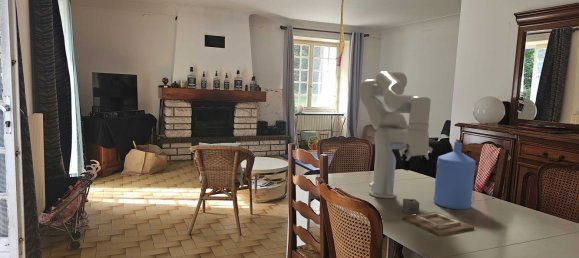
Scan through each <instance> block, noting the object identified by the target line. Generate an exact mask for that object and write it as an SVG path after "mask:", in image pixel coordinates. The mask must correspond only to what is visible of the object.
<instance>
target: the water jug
mask: <svg viewBox="0 0 579 258" xmlns="http://www.w3.org/2000/svg"><path fill="white" fill-rule="evenodd" d="M453 143H454V145H453V151H451V152H447V153H445V154H442V155H439V156H438V157H437V162H436V175H435V182H434V183H435V185H434V193H433V202H434V203H435V204H436V205H438V206H440V207H442V208H447V209H451V210H452V209H453V210H459V211H460V210H461V211H462V210H468V209H470V208H471V207H472V205H473V204H472V203H473V201H472V196H473V189H474V180H475V179H474V178H475V171H476V160H475V159H474V158H472V157H471V156H468V155H467V154H465V153H463V152H462V148H463V147H462V145H463V143H462V142H459V141H457V142H455V141H454V142H453Z"/></svg>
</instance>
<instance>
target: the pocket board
mask: <svg viewBox="0 0 579 258" xmlns="http://www.w3.org/2000/svg"><path fill="white" fill-rule="evenodd" d="M402 220H404V221H406V222H408V223H411V224H412V225H414V224H415V225H414V226H417V227H419V228H421V227H422V228H421V229H423V228H424V230H425V229H426V230H425V231H427V230H428V232H429V231H430V233H432V234H433V235H436V236H438V237H442V236H443V237H444V236H447V235H453V234H458V233H463V232H468V231H473V230H475V226H473V225H471V224H469V223H465V222H463V221H461V220H457V219H455V218H453V217H451V216H448V215H445V214H443V213H440V212H438V211H431V212H425V213H424V212H423V213H419V214H416V215H411V214H408V215H404V216H402Z"/></svg>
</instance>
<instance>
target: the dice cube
mask: <svg viewBox="0 0 579 258" xmlns="http://www.w3.org/2000/svg"><path fill="white" fill-rule="evenodd" d="M420 203H421V202H419V201H418V200H416V199H415V198H403V199H402V209H401V210H402V212H405V213H406V214H405V213H404V214H405V215H411V214H420V213H419V212H420Z"/></svg>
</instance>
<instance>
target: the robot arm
mask: <svg viewBox="0 0 579 258" xmlns="http://www.w3.org/2000/svg"><path fill="white" fill-rule="evenodd" d="M407 84H408V78H407V76H406V74H405V73H404V72H401V71H392V70H391V71H390V70H382V71H380V72H379V73H377V75H376V76H375V79H374V78H373V79H370V78H369V79H365V80H363V81H362V82H361V83H360V85H359V89H358V91H359V92H358V93H359V97H360V100H361V102H362V105H363V106H364V107H365V109H366V111H367V114H368V117H369V120H370V122H371V125H372V127H373V129H374V130H375V134H374V145H375V146H374V148H375V150H374V151H375V152H374V153H375V154H374V169H373V178H372V179H373V181H372V182H371V183H369V184H368V186H369V187H371V189H370V190H369V191H368V193H369V195H370V196H372V197H374V198H375V197H376V198H380V199H394V198H396V197H397V193H396V192H395V191H394V186H395V176H396V175H395V174H396V163H397V159H396V156H395V154H394V152H393V150H398V153H399V156H400V158H401V160H402V164H401V165H402V166H401V170H404V171H407V172H408V171H410V163H411V162H410V158H412V157H420V158H419V159H420V162H419V168H420V169H422V170H427V168H428V160H430V156H431V155H432V152H433V147H431V146H430V136H429V135H430V133H429V128H430V125H429V123H430V113H431V104H432V103H431V99H430V97H428V96H421V95H413V94H412V95H411V94H410V95H409V94H404V92H405V88H406V87H407ZM379 97H380V98H381V97H383V101H382V100H380V99H379ZM383 102H384V103H383ZM385 106H386V107H387V108H388V109H389V110H390V111H388V110H387V109H386V108H385ZM403 114H409V115H408V122H407V120H406V117H405V115H403Z"/></svg>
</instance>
